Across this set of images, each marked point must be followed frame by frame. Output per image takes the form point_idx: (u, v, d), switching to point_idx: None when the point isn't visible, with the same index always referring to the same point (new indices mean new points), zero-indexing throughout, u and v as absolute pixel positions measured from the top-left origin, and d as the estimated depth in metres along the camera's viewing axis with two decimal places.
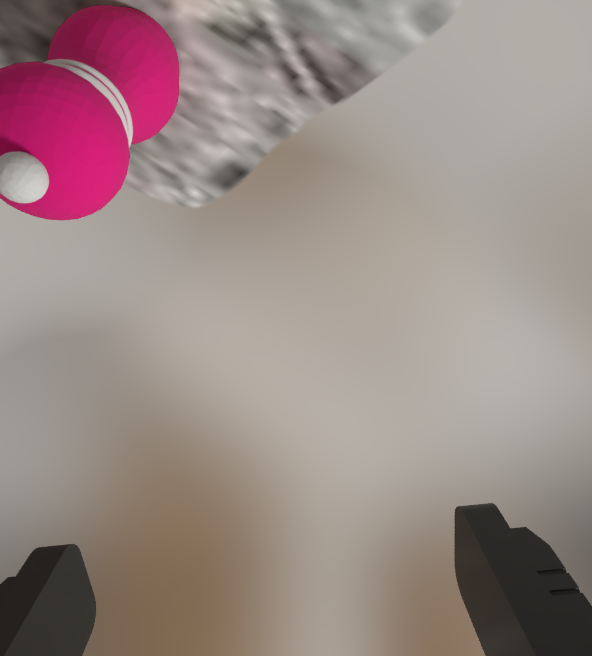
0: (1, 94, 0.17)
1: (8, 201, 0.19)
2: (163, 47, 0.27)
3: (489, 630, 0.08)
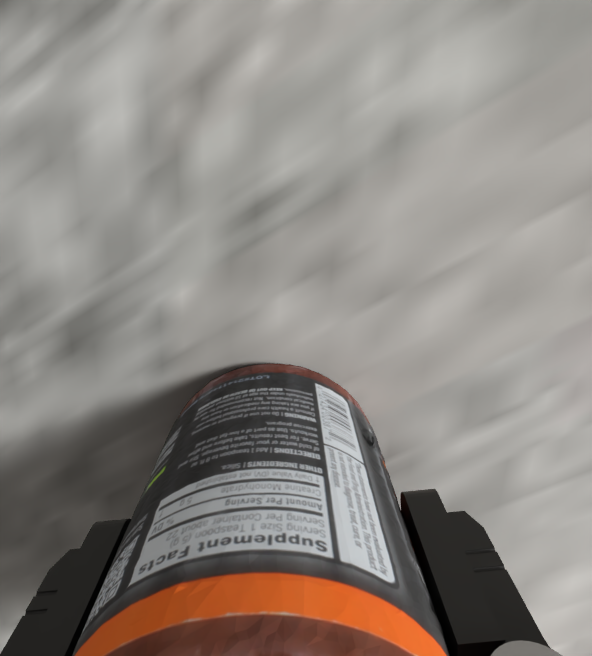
0: None
1: None
2: None
3: None
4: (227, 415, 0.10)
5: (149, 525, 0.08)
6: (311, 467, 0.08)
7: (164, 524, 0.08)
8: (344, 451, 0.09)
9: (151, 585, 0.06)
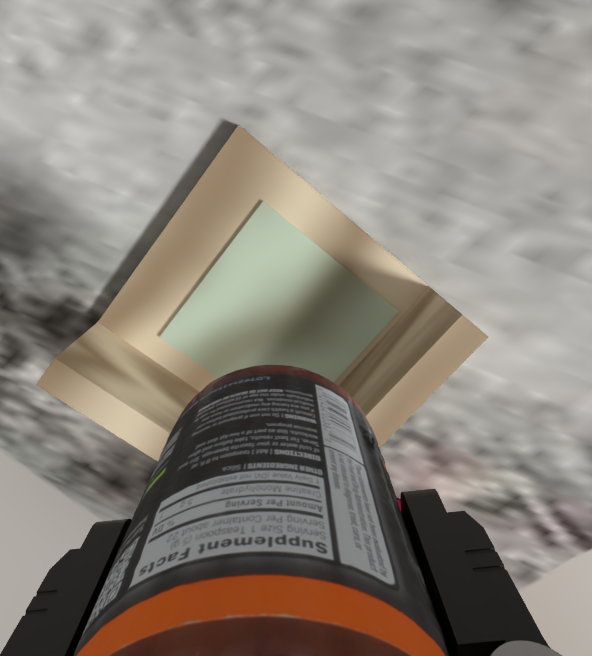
0: None
1: None
2: None
3: None
4: (227, 417, 0.10)
5: (149, 527, 0.08)
6: (312, 469, 0.08)
7: (165, 525, 0.08)
8: (344, 453, 0.09)
9: (151, 587, 0.06)
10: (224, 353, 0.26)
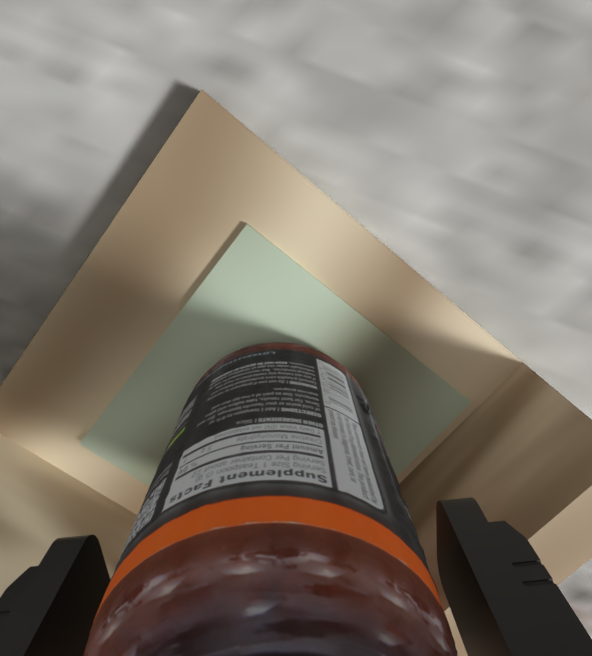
0: None
1: None
2: None
3: (467, 621, 0.09)
4: (238, 384, 0.12)
5: (175, 469, 0.09)
6: (314, 423, 0.10)
7: (189, 467, 0.09)
8: (341, 412, 0.11)
9: (181, 509, 0.08)
10: None
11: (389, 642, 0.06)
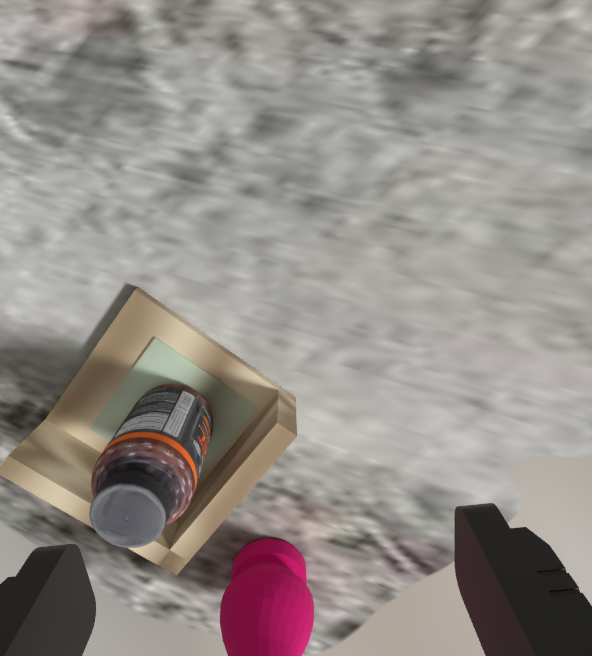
0: None
1: None
2: (305, 594, 0.36)
3: (489, 630, 0.08)
4: (147, 401, 0.32)
5: (120, 428, 0.29)
6: (166, 414, 0.30)
7: (123, 427, 0.29)
8: (180, 411, 0.31)
9: (118, 436, 0.28)
10: None
11: (164, 463, 0.27)
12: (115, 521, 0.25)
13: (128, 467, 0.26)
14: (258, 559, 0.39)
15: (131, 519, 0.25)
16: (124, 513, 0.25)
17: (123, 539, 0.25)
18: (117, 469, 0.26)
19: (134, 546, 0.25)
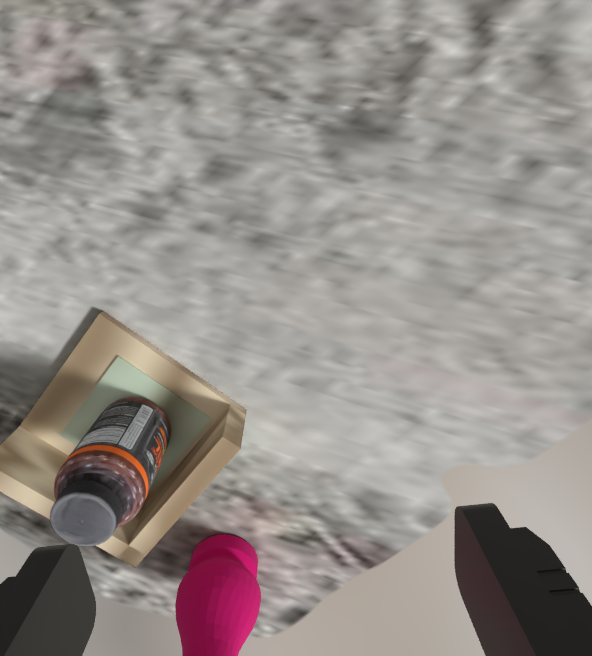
0: None
1: None
2: (252, 585, 0.40)
3: (489, 630, 0.08)
4: (108, 414, 0.36)
5: (82, 440, 0.33)
6: (123, 427, 0.34)
7: (84, 439, 0.33)
8: (137, 424, 0.35)
9: (79, 448, 0.32)
10: None
11: (117, 473, 0.31)
12: (72, 524, 0.29)
13: (85, 476, 0.30)
14: (213, 553, 0.43)
15: (86, 522, 0.29)
16: (79, 517, 0.29)
17: (79, 539, 0.29)
18: (75, 478, 0.30)
19: (89, 545, 0.30)
